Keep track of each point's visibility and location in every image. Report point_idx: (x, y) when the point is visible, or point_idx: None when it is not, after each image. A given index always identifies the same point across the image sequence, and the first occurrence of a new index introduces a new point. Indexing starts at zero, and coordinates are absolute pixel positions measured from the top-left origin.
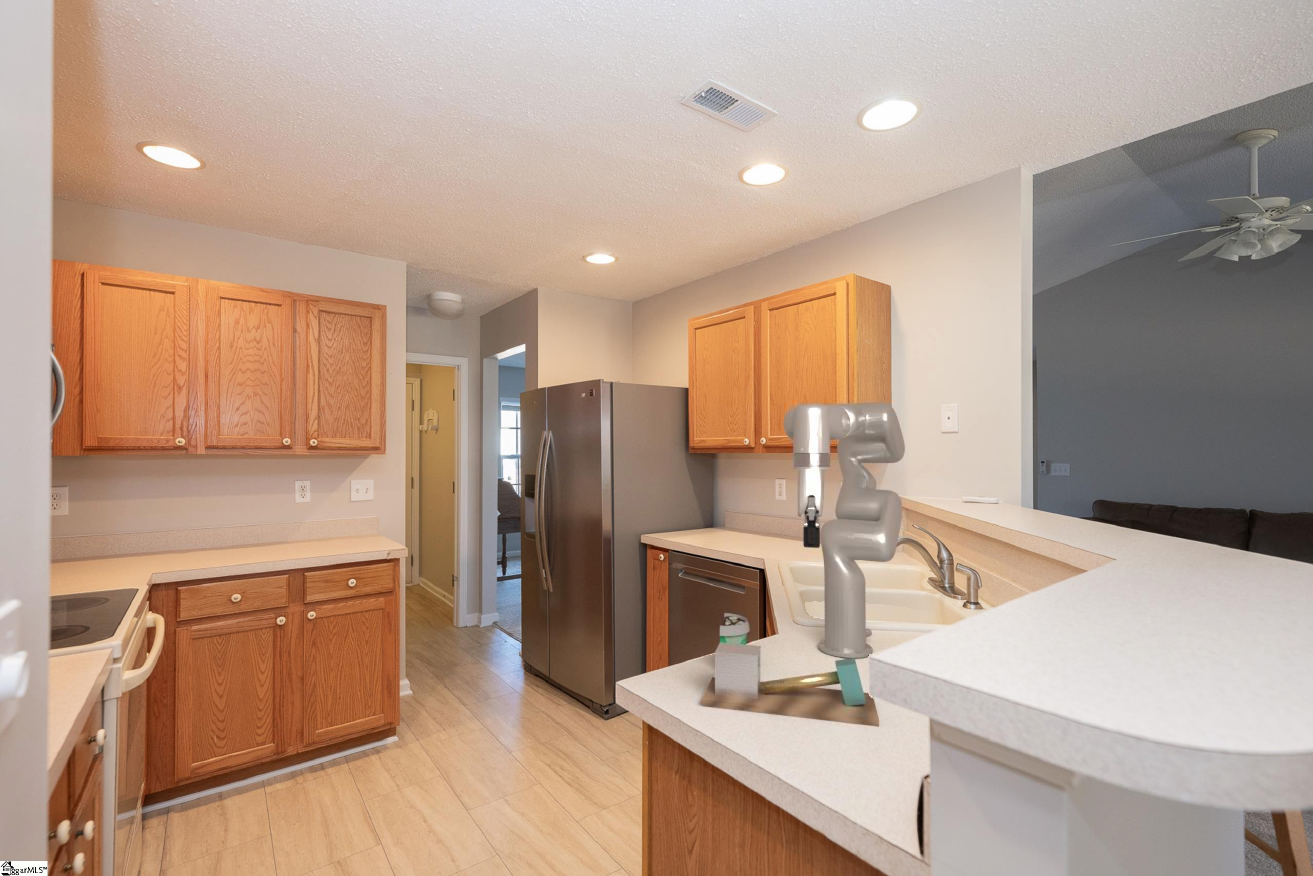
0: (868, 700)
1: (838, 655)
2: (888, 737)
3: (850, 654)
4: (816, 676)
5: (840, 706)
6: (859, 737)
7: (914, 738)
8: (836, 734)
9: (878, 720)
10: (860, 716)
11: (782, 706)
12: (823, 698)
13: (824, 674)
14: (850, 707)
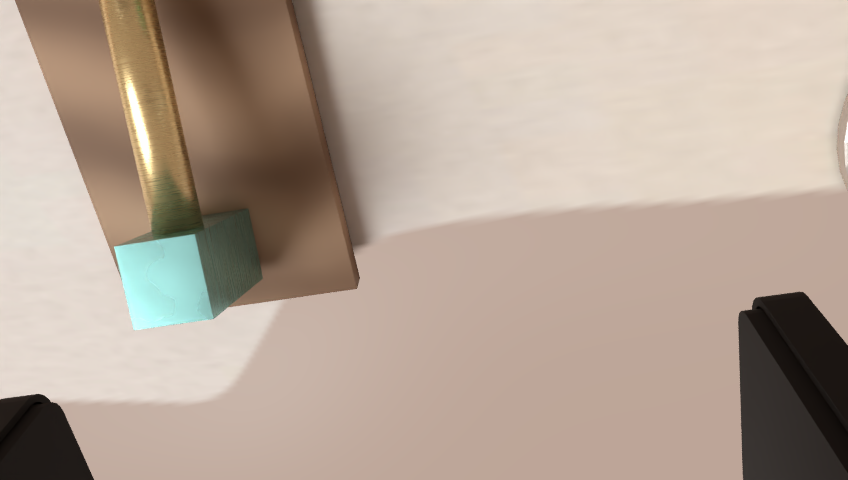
0: (278, 282)
1: (845, 106)
2: (87, 335)
3: (845, 164)
4: (135, 144)
5: None
6: (33, 264)
7: (125, 394)
8: (7, 202)
9: None
10: None
11: (33, 5)
12: (208, 136)
13: (145, 179)
14: None
